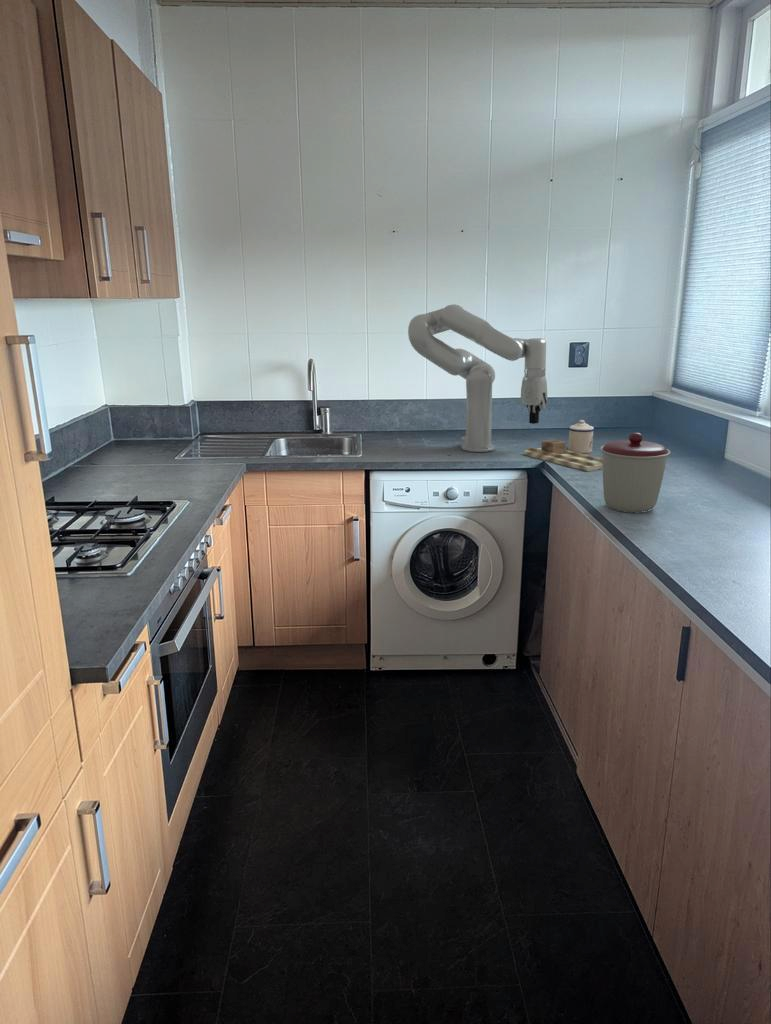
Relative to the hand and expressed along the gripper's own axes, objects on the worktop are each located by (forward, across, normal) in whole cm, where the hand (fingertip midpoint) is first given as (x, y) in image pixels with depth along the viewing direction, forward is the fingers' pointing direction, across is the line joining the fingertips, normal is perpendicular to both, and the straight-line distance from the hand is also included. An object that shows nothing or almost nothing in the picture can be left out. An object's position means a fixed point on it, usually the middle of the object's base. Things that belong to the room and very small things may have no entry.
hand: (533, 423), depth 271 cm
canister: (+12, +71, -29) cm, 78 cm away
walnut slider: (+9, +11, -1) cm, 15 cm away
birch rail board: (+11, +18, -1) cm, 21 cm away
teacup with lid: (+11, +8, +15) cm, 21 cm away
